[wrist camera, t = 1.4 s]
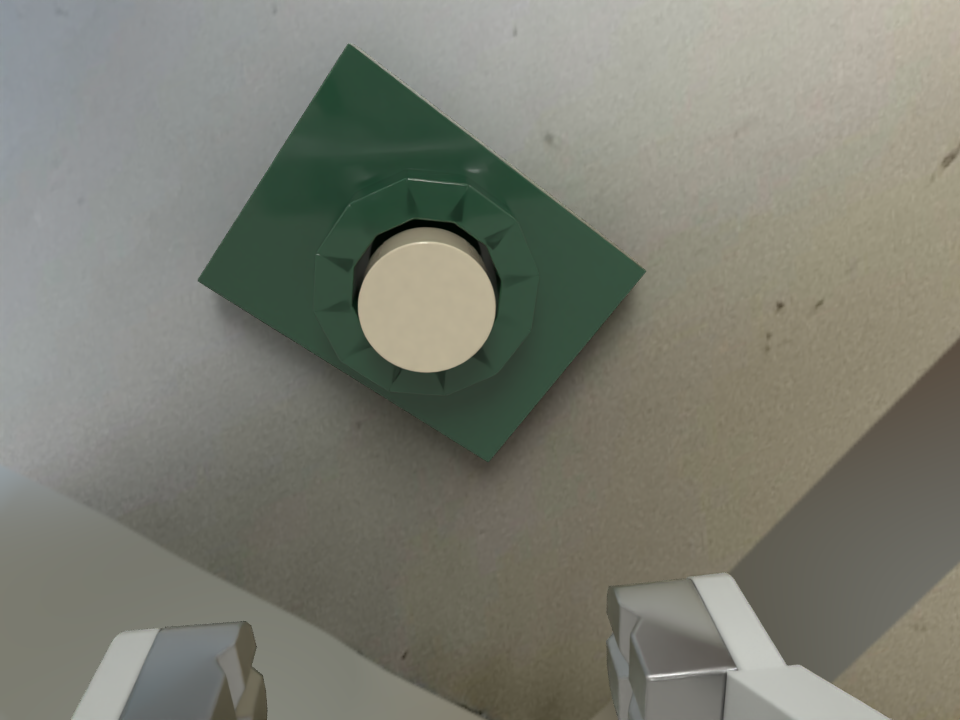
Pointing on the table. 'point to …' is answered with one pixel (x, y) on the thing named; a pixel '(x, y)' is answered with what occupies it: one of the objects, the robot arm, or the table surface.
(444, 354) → the cream short cylinder
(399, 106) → the green peg board
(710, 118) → the table surface
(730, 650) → the robot arm
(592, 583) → the table surface
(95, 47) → the table surface
